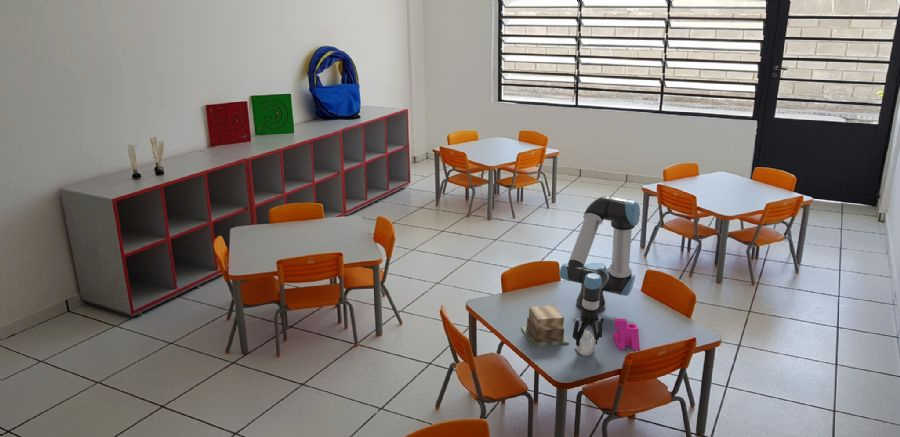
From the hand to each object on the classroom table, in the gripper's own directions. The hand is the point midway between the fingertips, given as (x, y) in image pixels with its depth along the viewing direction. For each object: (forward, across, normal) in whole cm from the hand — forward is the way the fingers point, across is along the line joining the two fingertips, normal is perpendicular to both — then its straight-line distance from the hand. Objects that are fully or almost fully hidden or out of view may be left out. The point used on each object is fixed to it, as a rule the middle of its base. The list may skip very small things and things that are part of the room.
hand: (585, 351), depth 333 cm
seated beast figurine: (+1, 0, 0) cm, 1 cm away
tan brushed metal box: (+1, +14, -18) cm, 23 cm away
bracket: (+1, -23, -5) cm, 23 cm away
